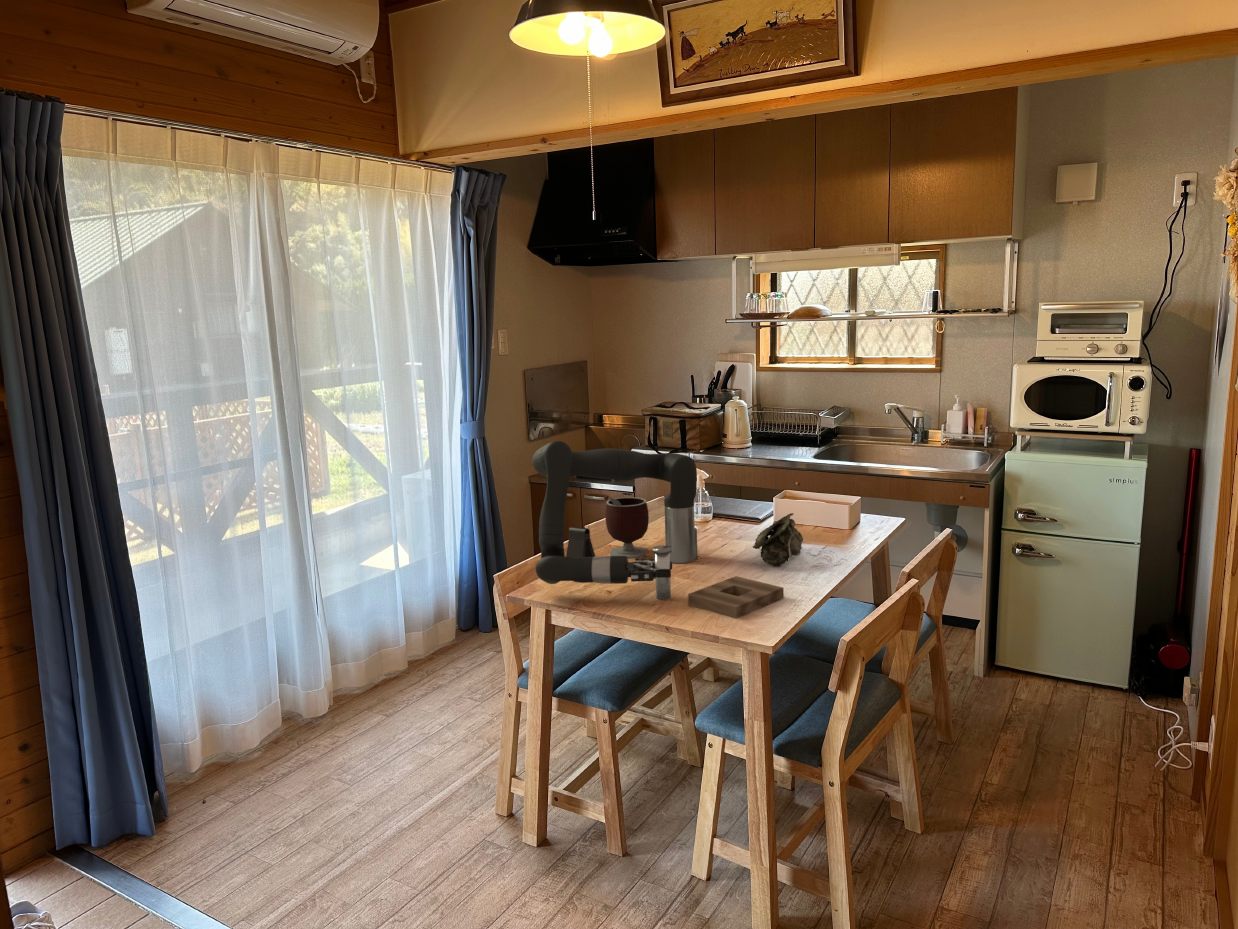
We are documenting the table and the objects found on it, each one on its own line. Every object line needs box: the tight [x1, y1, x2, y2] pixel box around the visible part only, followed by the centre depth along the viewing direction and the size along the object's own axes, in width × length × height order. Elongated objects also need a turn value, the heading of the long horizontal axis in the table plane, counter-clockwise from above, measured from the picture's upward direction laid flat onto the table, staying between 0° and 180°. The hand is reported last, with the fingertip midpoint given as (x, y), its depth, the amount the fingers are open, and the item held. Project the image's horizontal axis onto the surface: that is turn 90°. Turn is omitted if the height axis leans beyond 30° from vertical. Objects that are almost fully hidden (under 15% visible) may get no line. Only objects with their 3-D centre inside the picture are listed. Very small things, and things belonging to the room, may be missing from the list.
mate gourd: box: [604, 496, 650, 559], centre depth 275 cm, size 16×14×20 cm
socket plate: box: [687, 575, 785, 620], centre depth 227 cm, size 20×16×3 cm
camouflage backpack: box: [752, 512, 804, 568], centre depth 263 cm, size 28×13×15 cm
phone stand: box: [565, 526, 596, 557], centre depth 265 cm, size 9×6×12 cm, turn 147°
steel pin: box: [651, 544, 672, 601], centre depth 232 cm, size 5×5×14 cm
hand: (671, 569), depth 231 cm, fingers open, 6 cm apart
